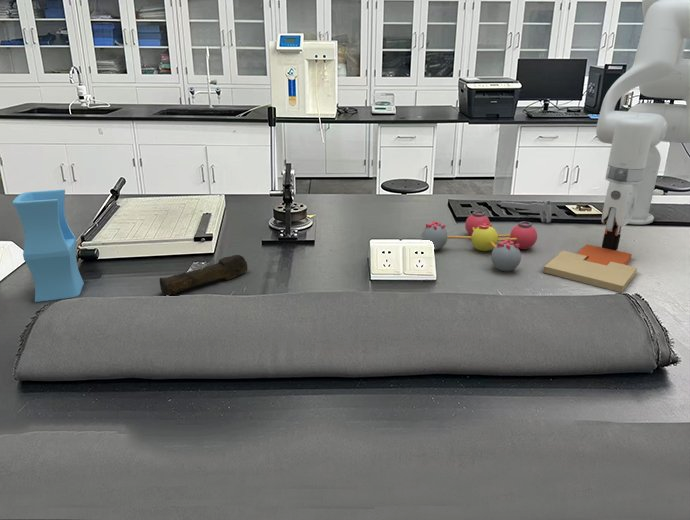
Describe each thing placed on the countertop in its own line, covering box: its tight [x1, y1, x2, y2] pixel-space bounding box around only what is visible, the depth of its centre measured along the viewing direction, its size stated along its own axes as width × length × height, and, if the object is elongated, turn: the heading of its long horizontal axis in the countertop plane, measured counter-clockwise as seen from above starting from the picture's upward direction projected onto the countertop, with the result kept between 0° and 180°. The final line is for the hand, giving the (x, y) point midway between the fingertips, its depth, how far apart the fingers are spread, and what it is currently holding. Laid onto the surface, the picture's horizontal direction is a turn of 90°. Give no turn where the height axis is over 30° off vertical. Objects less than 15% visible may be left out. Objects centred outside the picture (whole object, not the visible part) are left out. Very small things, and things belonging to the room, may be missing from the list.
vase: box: [12, 189, 84, 303], centre depth 104 cm, size 8×8×20 cm
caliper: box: [497, 200, 553, 223], centre depth 154 cm, size 20×1×6 cm, turn 27°
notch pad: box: [543, 250, 638, 293], centre depth 116 cm, size 12×16×2 cm
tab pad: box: [576, 243, 633, 266], centre depth 122 cm, size 11×10×2 cm
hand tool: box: [159, 254, 248, 297], centre depth 110 cm, size 19×4×5 cm, turn 127°
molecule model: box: [420, 210, 538, 272], centre depth 127 cm, size 25×21×6 cm
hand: (609, 249), depth 126 cm, fingers closed
